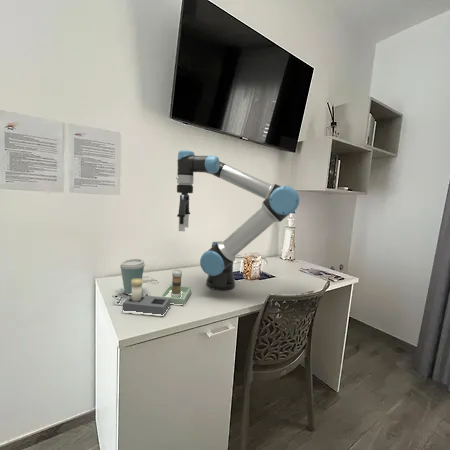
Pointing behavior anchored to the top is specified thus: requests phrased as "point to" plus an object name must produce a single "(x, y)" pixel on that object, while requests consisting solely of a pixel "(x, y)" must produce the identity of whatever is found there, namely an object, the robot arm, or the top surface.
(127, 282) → the disposable coffee cup
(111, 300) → the top surface
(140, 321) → the top surface
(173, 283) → the cylinder
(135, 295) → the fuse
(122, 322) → the top surface
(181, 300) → the parts tray
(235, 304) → the top surface
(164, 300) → the grey rectangular block
